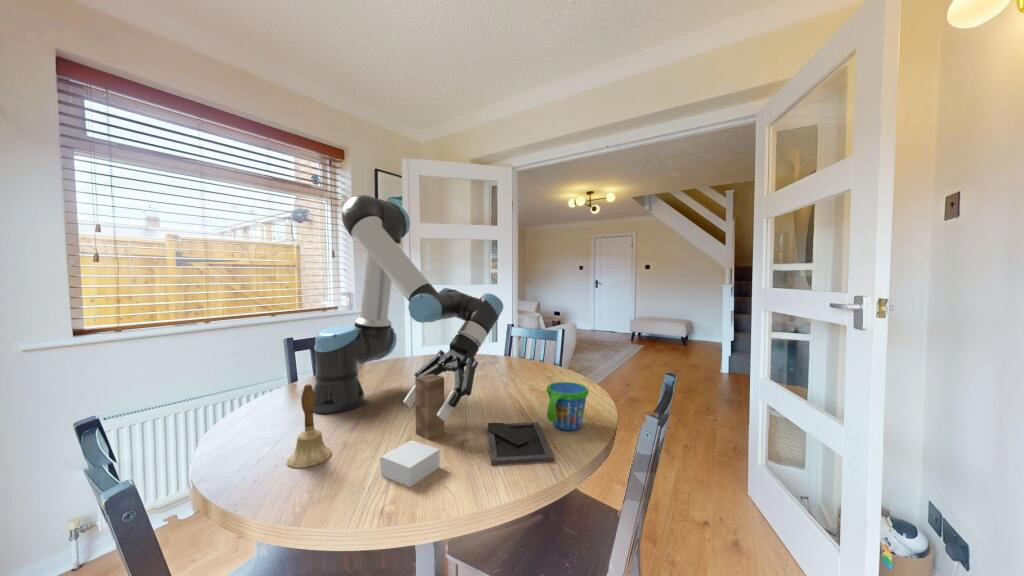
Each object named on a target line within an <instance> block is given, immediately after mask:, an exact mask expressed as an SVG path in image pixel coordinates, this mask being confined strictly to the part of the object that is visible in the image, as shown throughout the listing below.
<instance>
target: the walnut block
mask: <svg viewBox="0 0 1024 576" xmlns="http://www.w3.org/2000/svg"><path fill="white" fill-rule="evenodd" d="M414 380H415V382H414V384H415V434H416V435H417V436H419V437H421V438H423V439H425V440H428V441H429V440H430V439H433V438H435V437H438V436H440V435H442V434H445V421H444V420H442V419H441V418H440V417H439V416H437V413H438V412H439V410H440V408H441V407H442V405H443V403H444V402H445V376H440V375H434V374H429V375H425V376H422V377H418V378H416V377H415V378H414Z"/></svg>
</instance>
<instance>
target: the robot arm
mask: <svg viewBox="0 0 1024 576" xmlns="http://www.w3.org/2000/svg"><path fill="white" fill-rule="evenodd" d="M341 221H342V224H343V227H344V228H345V230H346V231H347V233H348V235H350V237H351V238H352V239H353V240H354V241H355V242H358V243H361V245H363V247H364V248H365V249H366V251H367V252H366V261H365V262H366V263H365V269H364V270H365V271H364V280H363V290H362V297H361V298H362V300H361V309H360V315H359V317H357V318H356V319H355V320H354V325H340V326H333V327H330V328H329V327H328V328H325V329H323V330H320V331H318V333H317V334H316V336H315V342H314V343H315V344H314V352H315V354H314V357H315V359H314V361H315V382H314V386H313V387H312V389H313V391H314V394H315V407H314V410H313V413H317V414H335V413H341V412H345V411H350V410H352V409H355V408H357V407H360V406H362V405H363V404H364V402H365V392H364V389H363V386H362V384H361V381H360V378H359V366H360V365H363V364H365V363H370V362H373V361H378V360H382V359H383V358H385V357H388V356H389V355H390V354H392V353H393V352H394V350H395V348H396V345H397V340H398V339H397V333H396V332H395V329H394V328H393V326H392V322H391V320H390V319H389V308H390V307H389V305H390V299H391V298H390V297H391V289H392V283H393V284H394V285H395V287H396V288H397V289H398V290H399V291H400V293H402V295H403V296H404V297H405V298H406V300H407V302H408V312H409V316H410V317H411V318H412V319H413V321H415V322H417V323H421V324H424V323H434V322H436V321H440V320H447V319H451V318H452V319H453V318H457V319H460V320H462V321H464V322H463V324H462V325H461V326H460V328H459V329H458V331H457V334H455V336H454V337H453V339H452V340H451V341H450V343H449V349H448V351H447V352H444V351H443V349H441V350H439V351H438V352H437V353H436V355H435V356H433V357H432V358H431V359H430V360H428V361H427V362H426V363H425V364H424V365H423V366H422V367H420V369H418V370H417V371H416V372H415V373H414V375H413V376H415V378H418V377H422V376H425V375H429V374H434V375H438V376H440V374H441V373H445V372H453V373H454V388H453V389H452V390H451V391H450V392H449V394H448V396H447V397H446V398H445V399H444V403H443V405H442V407H441V408H440V410H439V412H438V413H437V416H439V417H440V418H441V419H442V420H444V422H446V421H447V419H448V417H449V415H450V414H451V413H452V410H453V409H454V408H456V407H457V405H458V403H459V402H460V400H461V399H462V397H464V396H467V397H468V396H471V394H472V390H473V386H474V385H473V384H474V378H475V373H476V369H477V366H478V365H479V361H478V360H477V359H476V358H475V357H476V355H477V354H478V351H479V348H481V346H482V345H483V343H484V342H485V340H486V339H487V336H489V333H490V332H491V330H492V328H493V327H494V325H495V323H496V322H497V321H498V320H499V318H500V316H501V314H502V312H503V310H504V304H503V301H502V300H501V298H500V297H498V296H497V295H496V294H493V293H484V294H483V295H482V296H481V297H480V298H478V297H474V296H472V295H469V294H466V293H463V292H461V291H458V290H456V289H452V288H448V287H445V288H442V289H441V290H440V291H439V292H438V291H437V290H436V289H435V288H434V287H433V285H432V284H431V283H430V282H429V281H428V280H427V277H425V276H424V275H423V273H422V272H421V271H420V270H419V269H418V267H417V266H416V265H415V264H414V263H413V262H412V260H411V259H410V258H409V257H408V256H407V254H406V253H405V252H404V251H403V249H402V248H401V247H400V245H401V244H402V243H401V242H402V238H405V237H406V235H407V234H408V233H409V230H410V227H411V221H410V216H409V214H408V212H407V211H406V209H405V208H403V207H402V206H401V205H399V204H397V203H394V202H393V201H388V200H385V199H384V200H383V199H380V198H377V197H373V196H372V195H371V196H370V195H366V194H361V195H355V196H353V197H351V198H349V199H348V200H347V201H346V202H345V203H344V205H343V207H342V209H341ZM402 402H403V403H404V404H405V405H407V406H409V407H410V408H412V407H413V406H414V404H415V403H416V401H415V383H414V384H413V385H412V386H411V388H410V390H409V392H408V393H407V395H406V396H405V398H404V400H403V401H402Z"/></svg>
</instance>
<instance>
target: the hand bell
mask: <svg viewBox="0 0 1024 576" xmlns="http://www.w3.org/2000/svg"><path fill="white" fill-rule="evenodd" d="M314 407H315V394H314V391H313V387H312V384H309V383H308V384H305V385H304V387H303V390H302V393H301V409H302V411H303V414H304V431H302V432H301V433H299V434H298V435H297V437H296V439H297V440H296V446H295V448H294V451H293V452H292V453H291V455H290V456H289V457H288V459H287V460H286V464H287V465H286V466H288V467H289V468H292V469H298V468H299V469H300V468H301V469H306V468H305V467H308V468H310V467H309V466H312V467H314V466H313V465H315V466H317V465H316V464H318V465H320V464H322V463H324V462H326V461H327V460H328V459H330V457H332V455H333V454H332V450H331V448H329V447H327V446H326V445H325V443H324V440H323V436H322V435H323V433H322V431H321V430H319V429H318V428H317V429H316V428H315V423H314V412H313V410H314ZM319 463H320V464H319Z"/></svg>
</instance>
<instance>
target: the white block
mask: <svg viewBox="0 0 1024 576" xmlns="http://www.w3.org/2000/svg"><path fill="white" fill-rule="evenodd" d="M439 468H440V449H439V448H437V447H433V446H430V445H428V444H424V443H420V442H418V441H415V440H408V441H407V442H405V443H403V444H402V445H400V446H398V447H396V448H394V449H392V450H391V451H389V452H387V453H385V454H383V455H381V456H380V476H382V477H383V478H387V479H389V480H392V481H393V482H395V483H399V484H400V485H403V486H405V487H408V488H411V487H413V486H414V485H416V484H417V483H419V482H421V481H422V480H423V479H424V478H426V477H427V476H429V475H430V474H432V473H433V472H435V471H437V470H438V469H439Z"/></svg>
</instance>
